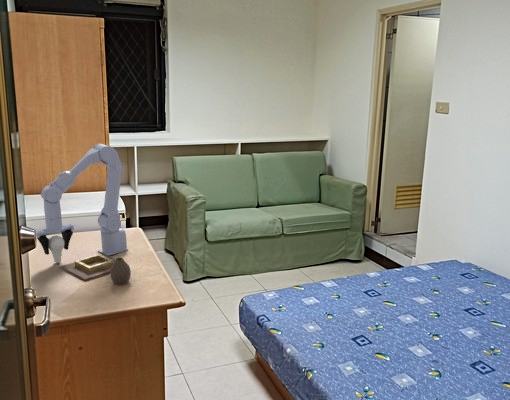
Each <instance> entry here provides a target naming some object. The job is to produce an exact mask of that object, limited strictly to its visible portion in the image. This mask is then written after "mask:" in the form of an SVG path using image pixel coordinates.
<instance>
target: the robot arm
mask: <svg viewBox="0 0 510 400" xmlns="http://www.w3.org/2000/svg"><path fill="white" fill-rule="evenodd" d="M100 163H102V164H103V165H104V166H105V167H106V168H107V175H106V182H105V183H106V184H105V185H106V186H105V194H104V203H103V207H102V209H101V210H100V215H99V216H98V219H97V224H98V225H99V226H100V241H101V248H100V249H98V250H97V252H98V253H101V254H104V255H107V256H109V257H110V256H112V255H115V254H119V253H122V252H126V251H128V250H129V248H128V246H127V234H126V232H125V230H124V228H121V226H122V222H121V220H120V218H121V217H120V211H119V209H118V208H119V206H118V205H119V199H120V198H119V197H120V188H121V182H122V181H121V179H122V170H123V165H122V161H121V159H120V157H119V152H118V151H117V150H116V149H115V148H114V147H113V146H111V145H106V144H104V143H97V144H94V146H92V148H90V149H89V150H88V151H87V152H86V153H85V154H84V155H83V156H82V158H80V159H79V161H77V162H76V163H75V164H74V166H72V168H71V169H70V170H64V171H63V172H61V171H60V172H59V173H58V176H57V177H56V178H55V179H54V180H53V181H50V182H49V183H48V184H49V185H46V186H44V187H43V188H42V190H41V192H40V197H41V198H42V199H43V205H44V206H43V209H44V210H43V211H44V218H45V228H43V229H41V230H38V231H35V232H36V234H37V238H36V239H37V240H38V242H39V243H40V245H41V247H42V249H43V252H44V254H45V255H50V249H49V247H48V243H49V238H50V237H47V236H50V235H55V234H59V233H61V237H62V238H63V239H64V242H65V244H64V247H63V249H64V250H66V251H68V249H69V246H70V241H71V238H72V236H73V234H74V230H75V227H74V226H75V225H74V224H71V223H70V224H69V223H68V224H65V225H64V224H63V220H62V219H63V218H62V208H61V202H60V201H61V199H62V195H63V194H65V192H66V191H68V189H70V188H71V187H72V186H73V185H74V184H75V183H76V180H77V179H76V178H77V177H78V176H79V175H80V174H82V173H83V172H84V171H85V170H86V169H88V168H89V167H90V166H91V165H93V164H100Z"/></svg>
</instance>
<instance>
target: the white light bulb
mask: <svg viewBox="0 0 510 400" xmlns="http://www.w3.org/2000/svg"><path fill="white" fill-rule="evenodd" d="M48 238H49V243H48V247H49V251H50V252H51V254H52V257H53V261H54V263H56V264H59V263H60V262H62V255H63V253H62V252H63V249H64V244H65V242H64V239H63V238H62V236H61V235H53V236H51V237H48Z"/></svg>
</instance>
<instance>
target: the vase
mask: <svg viewBox="0 0 510 400" xmlns="http://www.w3.org/2000/svg"><path fill="white" fill-rule="evenodd" d="M109 277H110V279H111V281H112V282H113V283H114V284H115V285H118V286H119V285H125V284H127V283H128V282H129V280H130V278H131V267H130V264H128V263H127V262H126V261H125V260H124V258H123V257H117V258H116V260H115V262H114V264H113V265H112V267H111V270H110V273H109Z"/></svg>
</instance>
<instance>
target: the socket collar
mask: <svg viewBox="0 0 510 400" xmlns="http://www.w3.org/2000/svg"><path fill="white" fill-rule="evenodd" d="M101 254H102V253H101ZM101 254H100V253H98V254H94V255H91V256H88V257H87V256H86V257H84V258H80V259H76V260H74V262H75V266H76V267H78V268H80V269H82V270H84V271H86V272H88V273H92V272H95V271H98V270H101V269H105V268H108V267H111V266H112V265H113V264H114V260H112V259H110V258H108V257H105V256H103V255H101ZM98 260H99V261H101V262H103V263H100V264H96V265H93V266H88V265H86V264H88V263H91V262H95V261H98Z"/></svg>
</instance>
